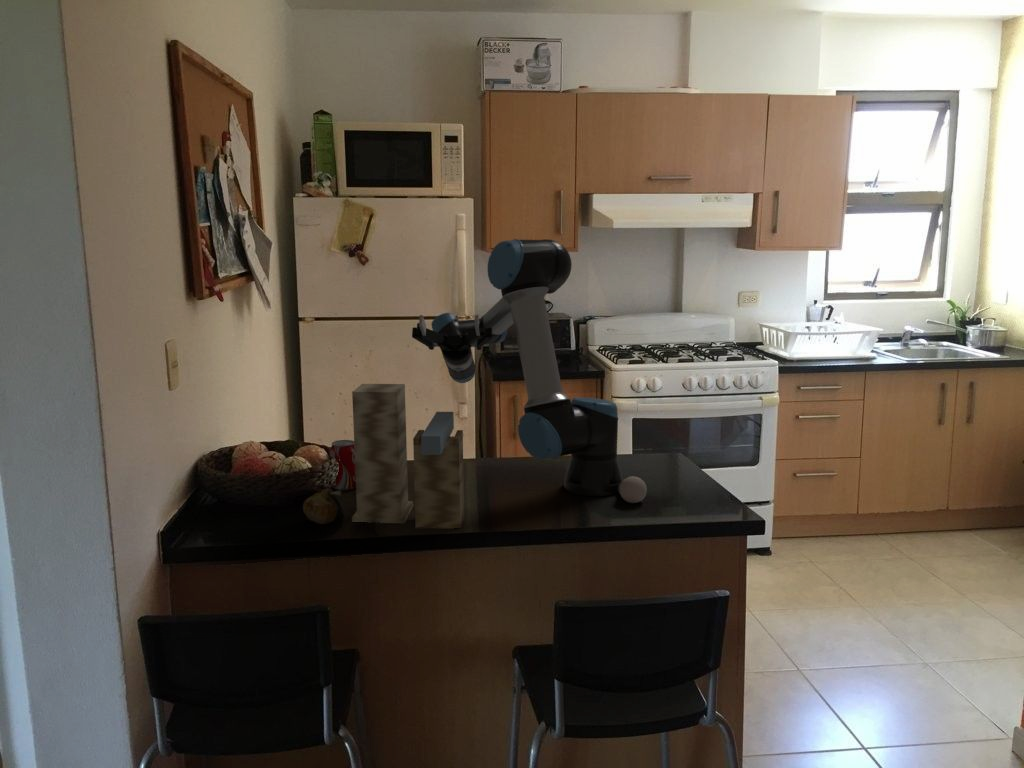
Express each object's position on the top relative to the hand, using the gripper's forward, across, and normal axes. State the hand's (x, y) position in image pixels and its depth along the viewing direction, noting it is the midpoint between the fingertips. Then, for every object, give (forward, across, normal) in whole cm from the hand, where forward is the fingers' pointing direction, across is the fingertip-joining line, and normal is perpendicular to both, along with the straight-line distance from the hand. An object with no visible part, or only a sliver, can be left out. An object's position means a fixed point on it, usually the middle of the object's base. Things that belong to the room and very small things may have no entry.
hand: (448, 320), depth 203 cm
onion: (-2, +27, -50) cm, 57 cm away
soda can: (-24, +28, -37) cm, 52 cm away
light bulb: (-18, -44, -40) cm, 63 cm away
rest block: (-3, 0, -49) cm, 49 cm away
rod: (+7, 0, -32) cm, 33 cm away
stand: (-7, +14, -46) cm, 49 cm away
